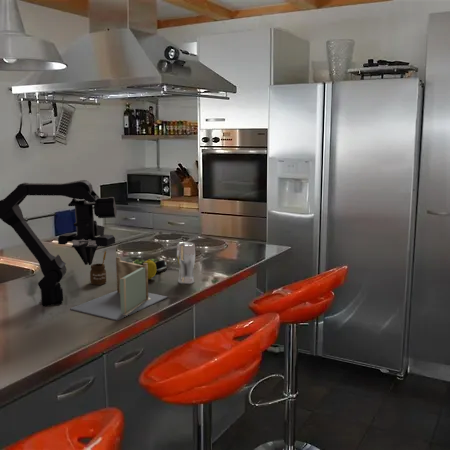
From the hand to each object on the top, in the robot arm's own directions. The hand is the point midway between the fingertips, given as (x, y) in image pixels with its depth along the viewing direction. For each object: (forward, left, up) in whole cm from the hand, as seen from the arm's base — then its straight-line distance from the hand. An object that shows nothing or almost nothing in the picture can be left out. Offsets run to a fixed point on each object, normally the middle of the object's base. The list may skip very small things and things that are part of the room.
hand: (88, 264), depth 177 cm
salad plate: (+30, +34, -14) cm, 47 cm away
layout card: (+9, -6, -13) cm, 17 cm away
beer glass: (+38, +9, -13) cm, 41 cm away
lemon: (+26, +18, -13) cm, 34 cm away
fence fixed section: (+15, 0, -13) cm, 19 cm away
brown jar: (+7, +21, -13) cm, 26 cm away
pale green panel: (+12, -12, -12) cm, 21 cm away
